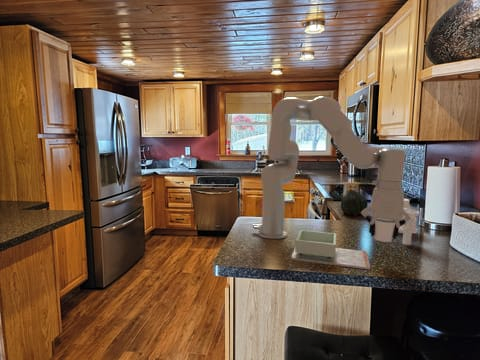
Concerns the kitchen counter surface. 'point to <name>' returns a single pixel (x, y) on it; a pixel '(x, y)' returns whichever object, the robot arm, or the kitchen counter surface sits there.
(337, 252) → the white flat board
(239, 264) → the kitchen counter surface
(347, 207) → the squash
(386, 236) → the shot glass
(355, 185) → the candy box
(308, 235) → the pale green open box
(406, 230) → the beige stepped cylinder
